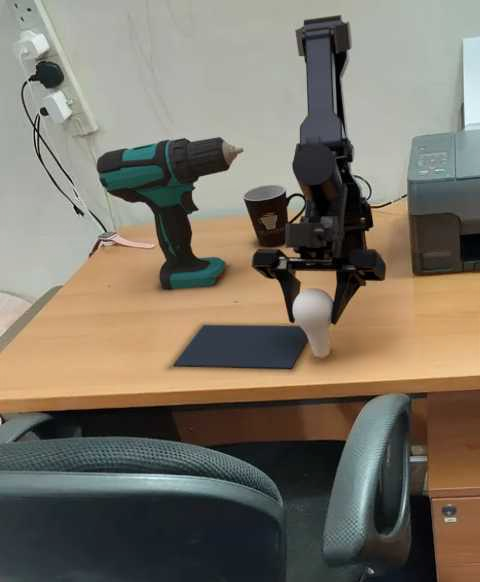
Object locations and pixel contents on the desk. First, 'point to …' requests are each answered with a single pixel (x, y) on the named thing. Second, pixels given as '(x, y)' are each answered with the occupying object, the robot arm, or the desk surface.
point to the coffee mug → (270, 213)
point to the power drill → (170, 198)
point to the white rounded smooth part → (315, 318)
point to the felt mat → (244, 347)
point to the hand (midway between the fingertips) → (312, 323)
